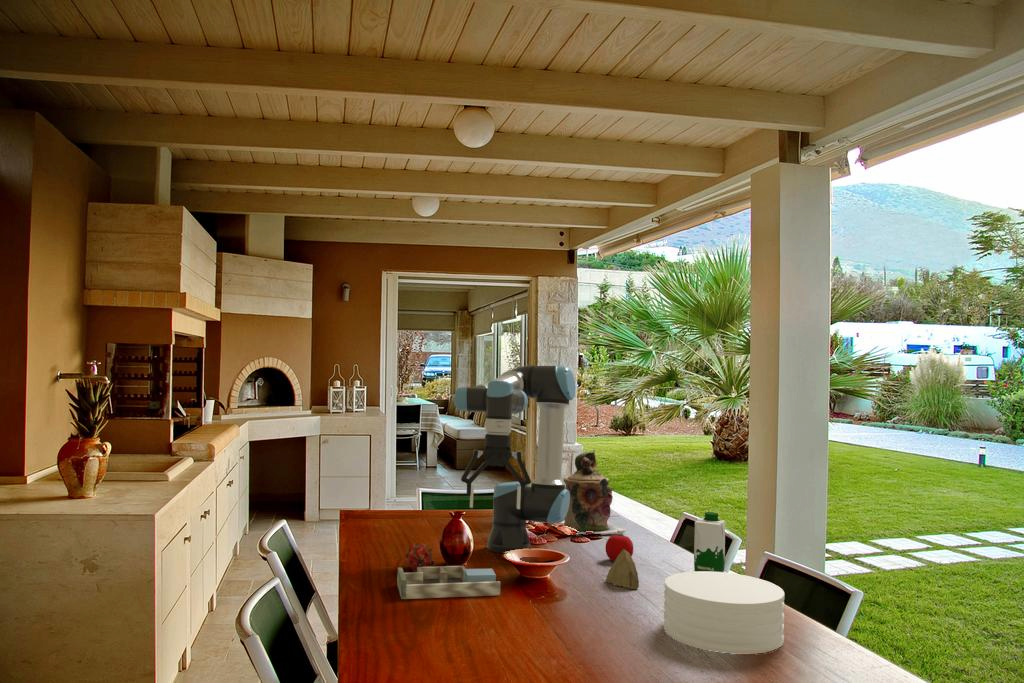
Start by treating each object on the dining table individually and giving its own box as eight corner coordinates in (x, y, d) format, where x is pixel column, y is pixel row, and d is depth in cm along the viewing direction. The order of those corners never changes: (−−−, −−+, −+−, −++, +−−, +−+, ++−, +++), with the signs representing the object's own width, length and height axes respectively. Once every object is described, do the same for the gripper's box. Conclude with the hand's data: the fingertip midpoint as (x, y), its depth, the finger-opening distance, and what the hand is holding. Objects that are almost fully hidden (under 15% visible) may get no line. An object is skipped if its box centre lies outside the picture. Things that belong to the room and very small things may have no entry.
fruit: (632, 558, 257) (632, 528, 257) (633, 565, 248) (634, 534, 248) (604, 557, 258) (605, 527, 258) (605, 563, 249) (606, 533, 249)
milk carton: (726, 579, 234) (727, 513, 235) (720, 585, 226) (721, 518, 227) (698, 574, 238) (699, 510, 239) (690, 581, 230) (691, 514, 231)
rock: (649, 582, 219) (640, 568, 229) (633, 559, 218) (625, 546, 228) (618, 604, 219) (611, 589, 229) (602, 581, 218) (595, 567, 227)
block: (491, 586, 220) (492, 568, 220) (495, 592, 213) (495, 574, 213) (464, 586, 218) (464, 569, 218) (467, 593, 211) (467, 575, 211)
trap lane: (486, 576, 229) (486, 559, 229) (500, 595, 210) (500, 576, 210) (395, 579, 222) (396, 562, 222) (401, 599, 204) (402, 580, 204)
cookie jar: (547, 525, 311) (549, 446, 312) (602, 523, 318) (603, 446, 319) (569, 537, 287) (571, 453, 288) (628, 535, 294) (630, 452, 296)
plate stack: (695, 608, 203) (695, 565, 204) (800, 633, 185) (801, 586, 186) (642, 634, 182) (643, 586, 182) (756, 665, 164) (757, 611, 164)
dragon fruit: (420, 569, 241) (422, 585, 229) (398, 554, 239) (399, 569, 228) (436, 548, 241) (439, 563, 230) (415, 533, 240) (417, 547, 228)
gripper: (455, 432, 215) (451, 508, 214) (542, 436, 218) (539, 510, 216) (454, 431, 223) (451, 504, 221) (538, 434, 225) (536, 507, 223)
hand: (494, 507), depth 219 cm, fingers open, 13 cm apart
